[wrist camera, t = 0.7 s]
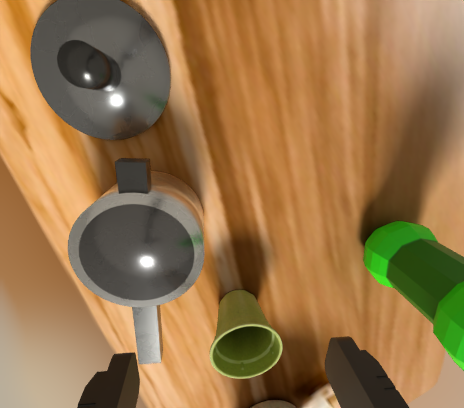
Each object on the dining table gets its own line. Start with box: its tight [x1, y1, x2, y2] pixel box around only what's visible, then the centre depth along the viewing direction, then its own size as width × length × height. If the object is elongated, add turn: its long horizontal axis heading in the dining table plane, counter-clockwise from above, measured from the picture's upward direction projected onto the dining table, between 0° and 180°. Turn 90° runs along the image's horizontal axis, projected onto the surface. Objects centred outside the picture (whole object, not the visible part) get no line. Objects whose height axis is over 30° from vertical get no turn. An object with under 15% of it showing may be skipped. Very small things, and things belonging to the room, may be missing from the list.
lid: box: [31, 0, 171, 140], centre depth 24 cm, size 14×14×6 cm
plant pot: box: [210, 290, 283, 379], centre depth 36 cm, size 9×9×9 cm
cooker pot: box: [68, 158, 204, 364], centre depth 30 cm, size 25×13×9 cm, turn 177°
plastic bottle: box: [363, 221, 464, 371], centre depth 27 cm, size 10×10×25 cm
